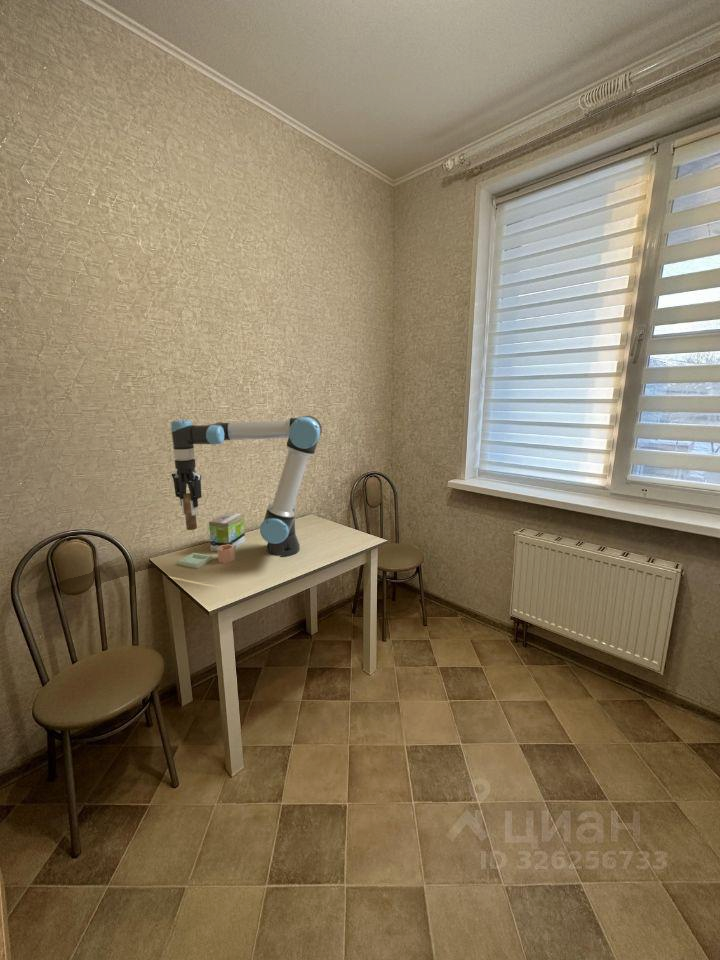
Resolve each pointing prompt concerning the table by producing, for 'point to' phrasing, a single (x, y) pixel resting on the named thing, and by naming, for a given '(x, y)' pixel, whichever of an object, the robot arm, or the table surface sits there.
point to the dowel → (189, 513)
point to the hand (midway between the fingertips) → (190, 513)
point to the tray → (195, 560)
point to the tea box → (227, 530)
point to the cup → (226, 553)
